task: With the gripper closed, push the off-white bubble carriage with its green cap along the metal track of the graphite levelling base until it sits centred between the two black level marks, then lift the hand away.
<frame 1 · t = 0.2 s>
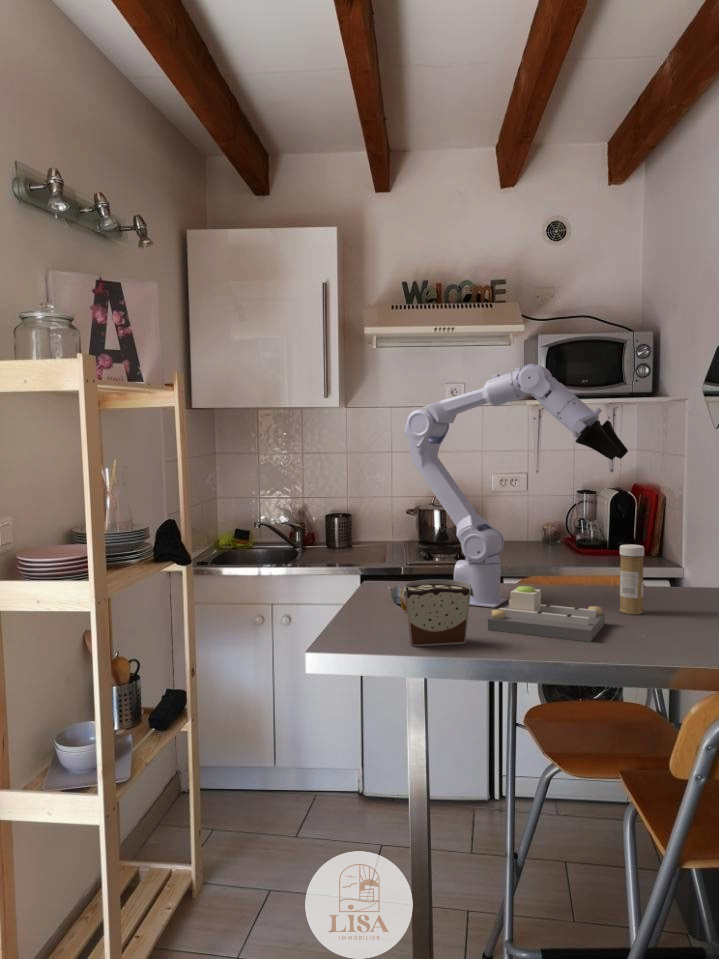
hand: (620, 455, 136), 31 cm above the table, tool tilted 45°, fingers open, 7 cm apart
levelling base: (547, 626, 131), on the table
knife: (401, 610, 146), on the table
bubble carriage: (525, 599, 133), point 5 cm above the table, slide at -6.0 cm
sprinkles bottle: (631, 613, 142), on the table
food container: (433, 641, 123), on the table
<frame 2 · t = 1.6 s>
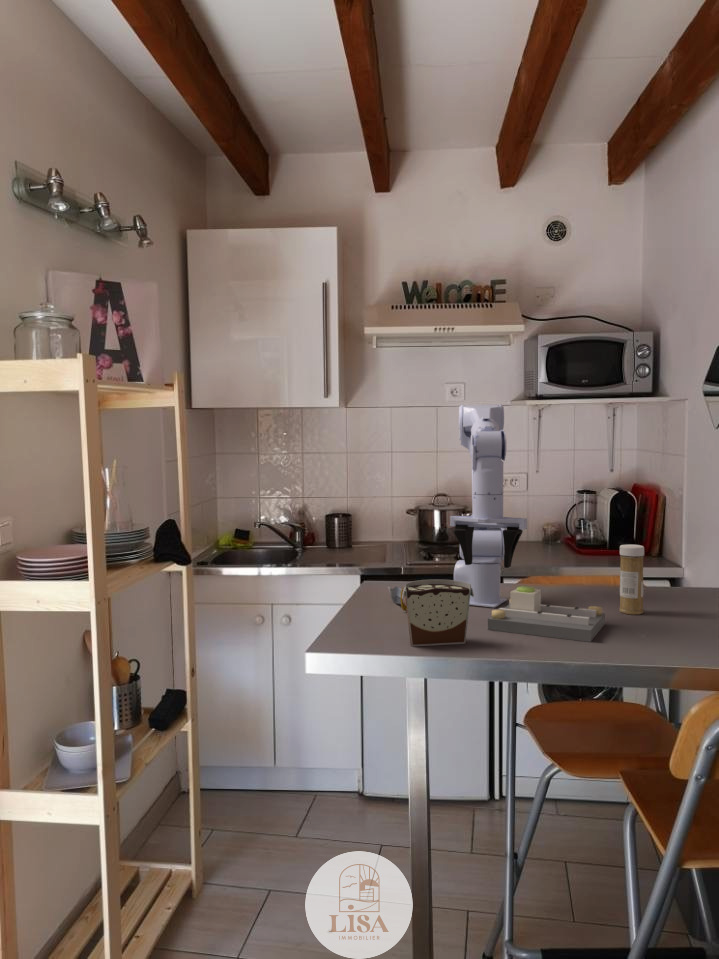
hand: (487, 565, 136), 10 cm above the table, tool pointing down, fingers open, 7 cm apart
nothing on the table moved.
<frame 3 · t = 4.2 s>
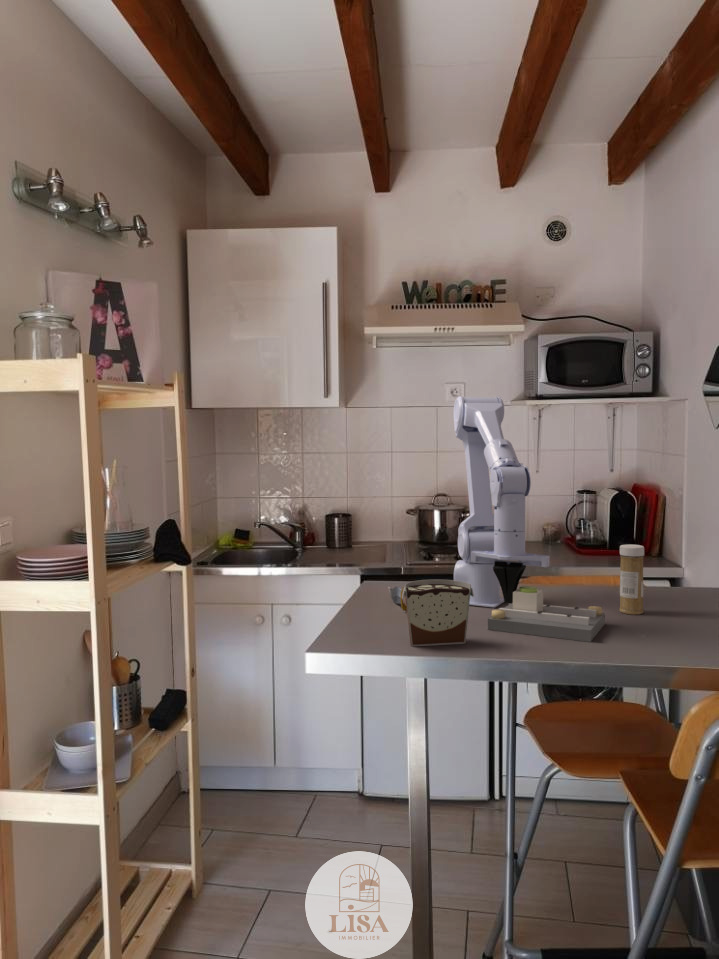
hand: (509, 602, 134), 4 cm above the table, tool pointing down, fingers closed
bubble carriage: (528, 600, 133), point 5 cm above the table, slide at -5.6 cm, touching gripper
everything else where it was.
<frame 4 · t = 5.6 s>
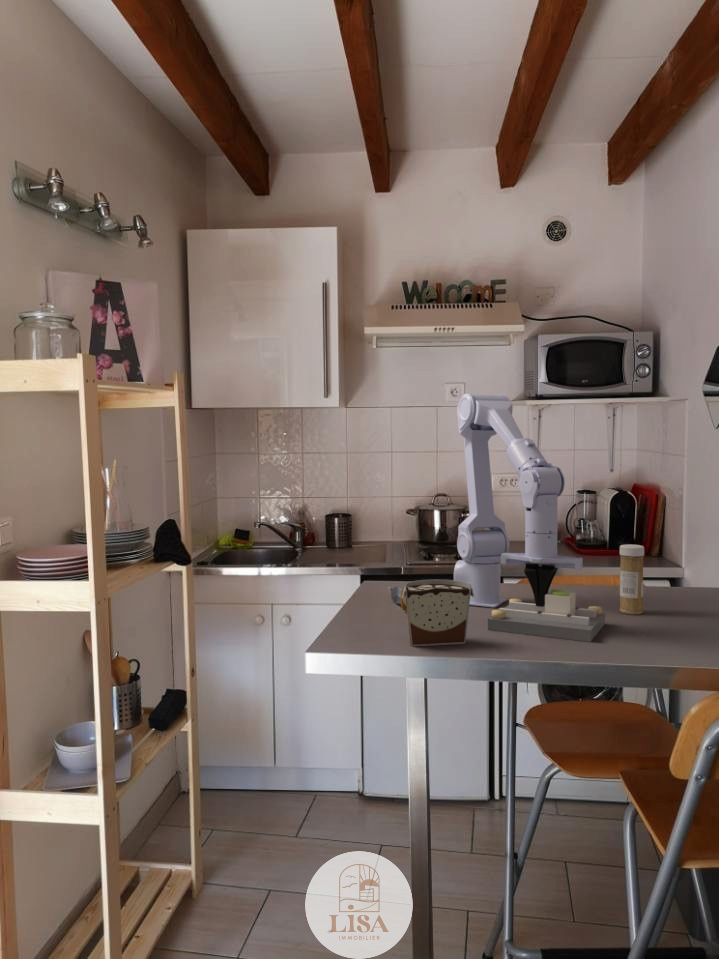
hand: (540, 605, 132), 4 cm above the table, tool pointing down, fingers closed
bubble carriage: (560, 603, 130), point 5 cm above the table, slide at 0.3 cm, touching gripper
everything else where it was.
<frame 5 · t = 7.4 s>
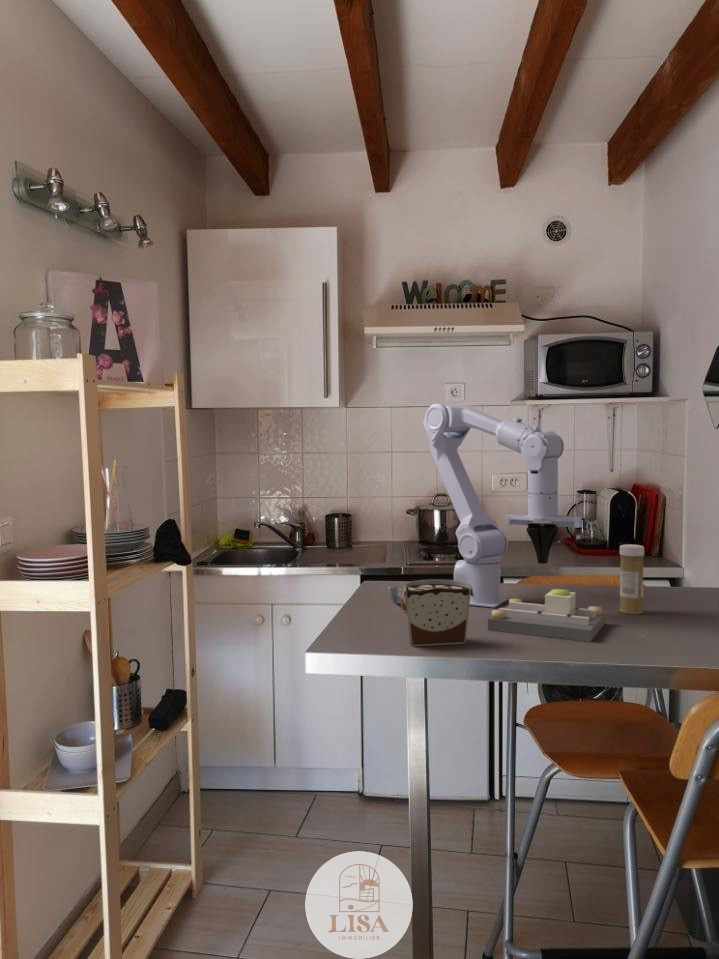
hand: (542, 562, 140), 10 cm above the table, tool pointing down, fingers closed
bubble carriage: (560, 603, 130), point 5 cm above the table, slide at 0.3 cm
everything else where it was.
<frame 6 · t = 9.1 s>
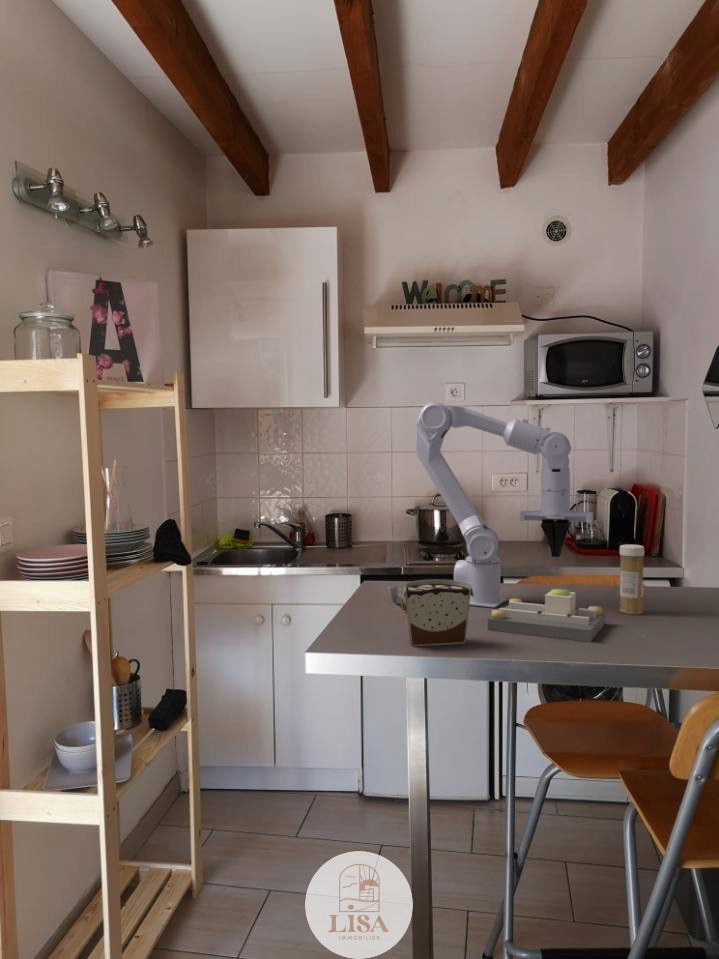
hand: (556, 556, 148), 10 cm above the table, tool pointing down, fingers closed
nothing on the table moved.
at the end: bubble carriage slide at 0.3 cm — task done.
